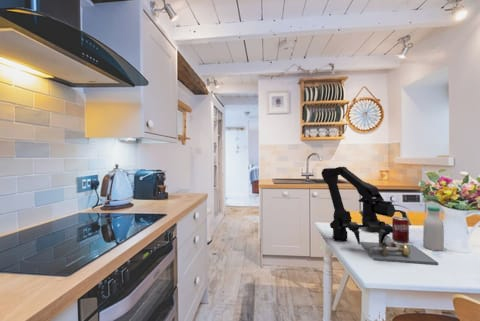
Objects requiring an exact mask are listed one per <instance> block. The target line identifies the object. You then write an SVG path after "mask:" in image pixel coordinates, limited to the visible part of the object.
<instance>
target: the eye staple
mask: <svg viewBox="0 0 480 321" xmlns="http://www.w3.org/2000/svg"><path fill="white" fill-rule="evenodd" d="M378 243H379V246H382V247H383V257H386V246H385V245H384V244H383V243H382V242H379V241H378ZM379 253H382V251H379Z"/></svg>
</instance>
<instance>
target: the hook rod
mask: <svg viewBox="0 0 480 321" xmlns="http://www.w3.org/2000/svg"><path fill="white" fill-rule="evenodd" d="M373 250H374V251H383V247H382V246H372V248H370V253H373ZM386 251H389V252H401V254H402V255H406V256H409V255H410V249H409V246H408V245H401V246H400V247H386Z"/></svg>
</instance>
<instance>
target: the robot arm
mask: <svg viewBox="0 0 480 321" xmlns="http://www.w3.org/2000/svg"><path fill="white" fill-rule="evenodd" d="M339 176H341V177H342V178H343V179H344V180H346V181H347V182H348V183H349V184H350V185H352V186H353V187H354V188H355V189H356V190H357V193H358V194H359V196H361V198H360V199H358V200H357V201H358V202H359V203H362V210H363V213H362V215H363V221H362V220H361V223H362V224H360V223H359V224H358V223H357V222H355V221H352V219H353V218H352V216H351V212H350V211H348V210H346V209H345V207H344V203H343V200H342V196H341V192H340V188H339V186H338V180H339ZM321 177H322V179H323V181H324V182H325V184H327V187H328V191H329V195H330V198H331V201H332V206H333V208H334V209H333V210H334V212H333V214H332V216H333V220H332V221H331V222H330V223H329V227H330V228H331V229H332V235H331V237H332V239H333V241H339V242H348V231H347V229H348V230H349V231H351V232H352V233H353V234H354V235H355V236H354V237H355V240H356V241H357V245H359V246H360V245H361V244H360V242H361V240H360V239H361V238H360V231H359V230H360V229H363V230H365V229H368V231H369V233H378V243H379V242H383V240H384V238H385V236H389V235H391V234H392V233H393V227H392V225H391V224H389V223H386V222H385V221H383V220H382V221H381V220H380V221H378V220H377V219H378V216H383V217H388V218H393V217H395V214H396V208H395V205H394V204H393V201H391V200H385V199H384V198H383V197H382V194H381V193H380V192H379V189H378V187H377V186H376V185H373V184H371V183H368V182H366V181H364V180H362V179H361V178H359V177H358V176H357V175H356V174H354V173H353V172H351V171H350V170H349V169H348V168H347V167H346V166H337V167H328V168H323V169H322V170H321ZM377 215H378V216H377ZM368 231H367V232H368Z"/></svg>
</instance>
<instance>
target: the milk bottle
mask: <svg viewBox="0 0 480 321" xmlns="http://www.w3.org/2000/svg"><path fill="white" fill-rule="evenodd" d="M440 212H441V208H440V207H439V206H430V205H429V206H427V215H426V216H425V218H424V219H423V226H422V227H423V229H422V232H423V236H422V237H423V238H422V240H423V243H422V245H423V247H424V248H425V249H428V250H433V251H439V252H440V251H444V249H445V245H444V244H445V229H444V221H443V220H442V218H441V216H440Z"/></svg>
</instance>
